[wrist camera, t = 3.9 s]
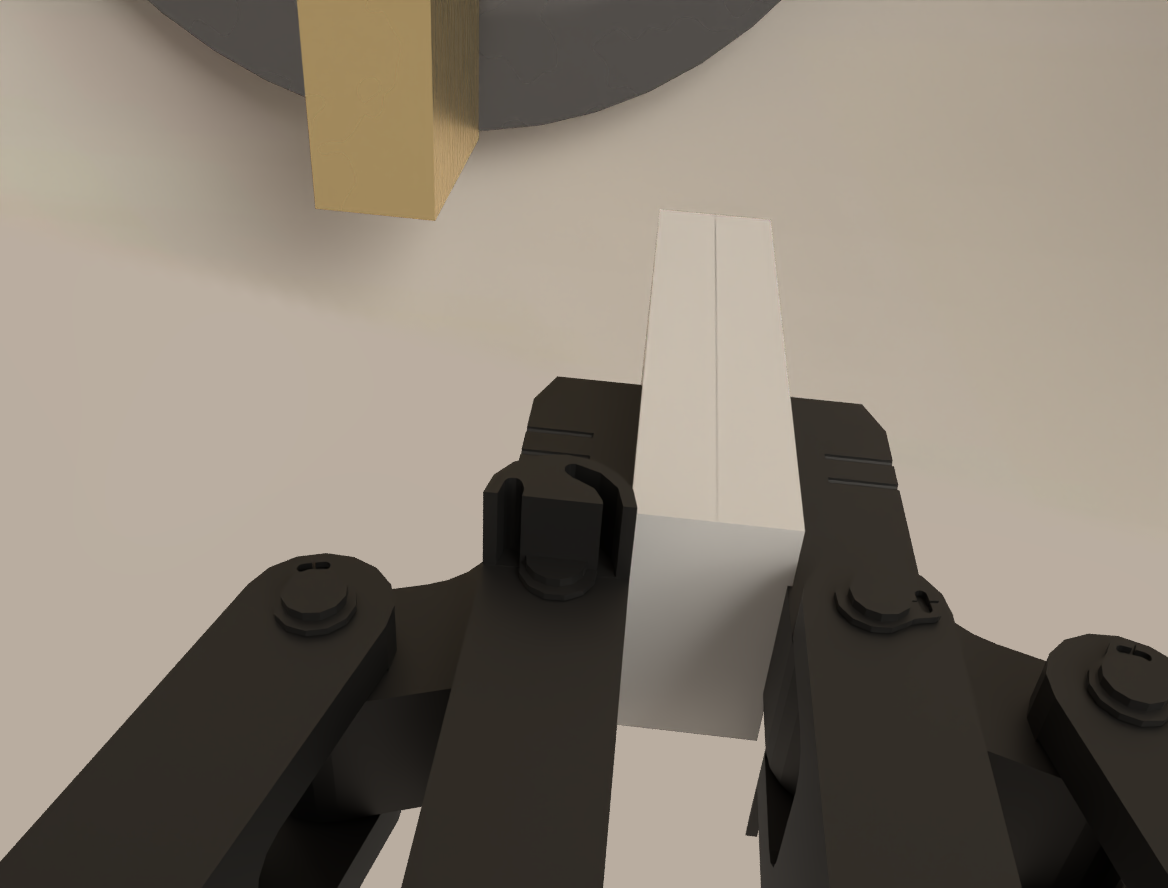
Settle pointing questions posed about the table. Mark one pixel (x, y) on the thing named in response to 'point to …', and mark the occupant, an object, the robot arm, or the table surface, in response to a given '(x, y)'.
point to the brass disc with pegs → (389, 101)
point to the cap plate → (512, 48)
